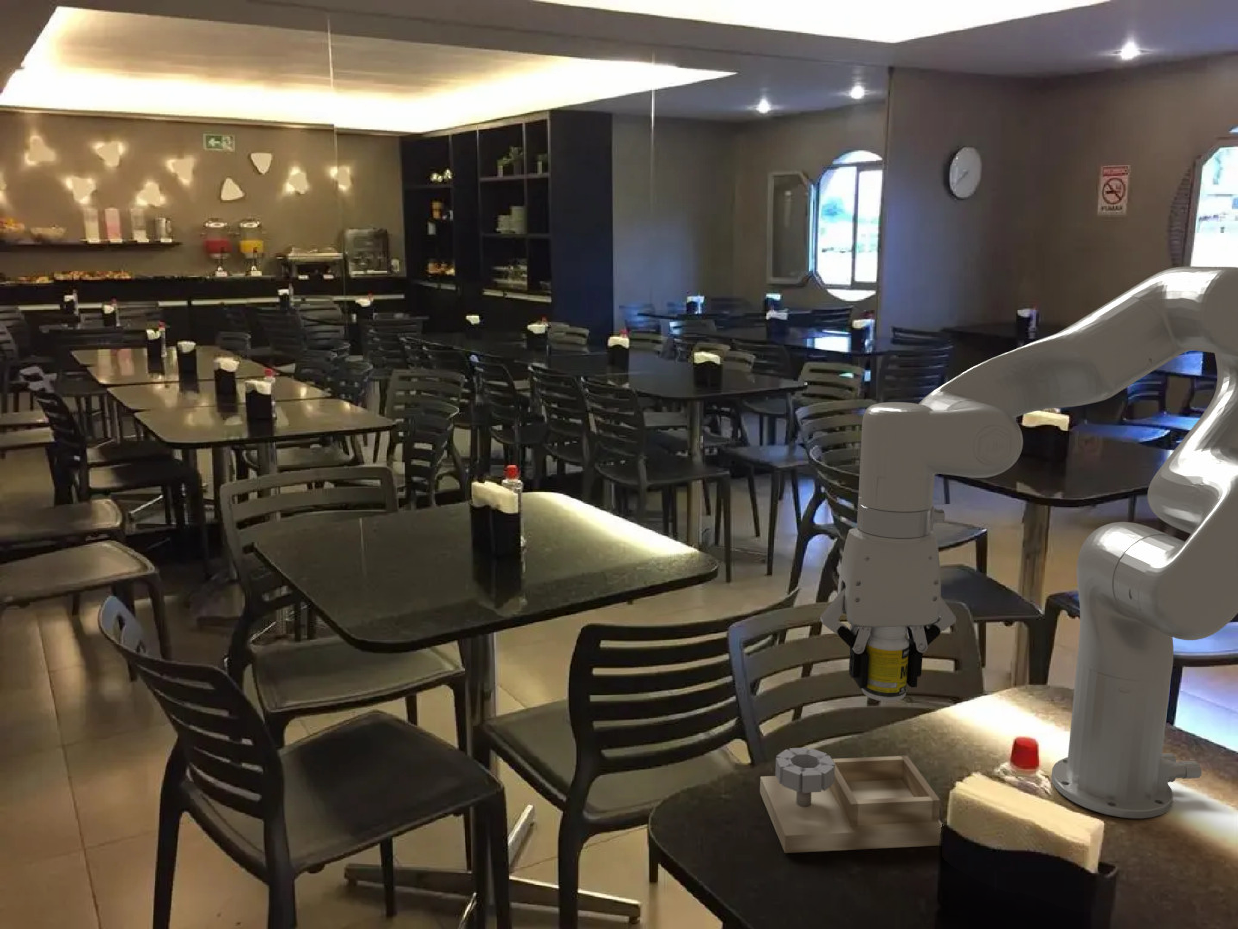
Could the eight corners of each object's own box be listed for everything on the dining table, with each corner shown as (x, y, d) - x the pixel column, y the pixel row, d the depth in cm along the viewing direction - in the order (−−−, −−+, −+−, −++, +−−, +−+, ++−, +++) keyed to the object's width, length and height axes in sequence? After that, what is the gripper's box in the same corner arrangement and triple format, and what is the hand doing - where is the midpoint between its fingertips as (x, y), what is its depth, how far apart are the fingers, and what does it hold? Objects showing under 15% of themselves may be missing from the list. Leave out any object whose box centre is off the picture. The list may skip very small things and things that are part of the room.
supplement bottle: (907, 704, 105) (911, 630, 104) (861, 700, 106) (865, 626, 105) (904, 686, 110) (909, 614, 108) (861, 682, 111) (865, 611, 109)
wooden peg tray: (903, 786, 116) (905, 742, 115) (943, 845, 104) (947, 797, 103) (759, 792, 115) (761, 748, 114) (784, 853, 103) (786, 805, 102)
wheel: (823, 763, 111) (824, 746, 111) (839, 791, 105) (840, 774, 105) (771, 765, 111) (771, 749, 110) (784, 793, 105) (784, 776, 104)
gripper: (959, 511, 108) (947, 667, 112) (805, 512, 107) (799, 670, 111) (987, 529, 101) (974, 696, 104) (823, 531, 100) (815, 699, 104)
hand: (884, 681), depth 108 cm, fingers closed on supplement bottle, 4 cm apart
